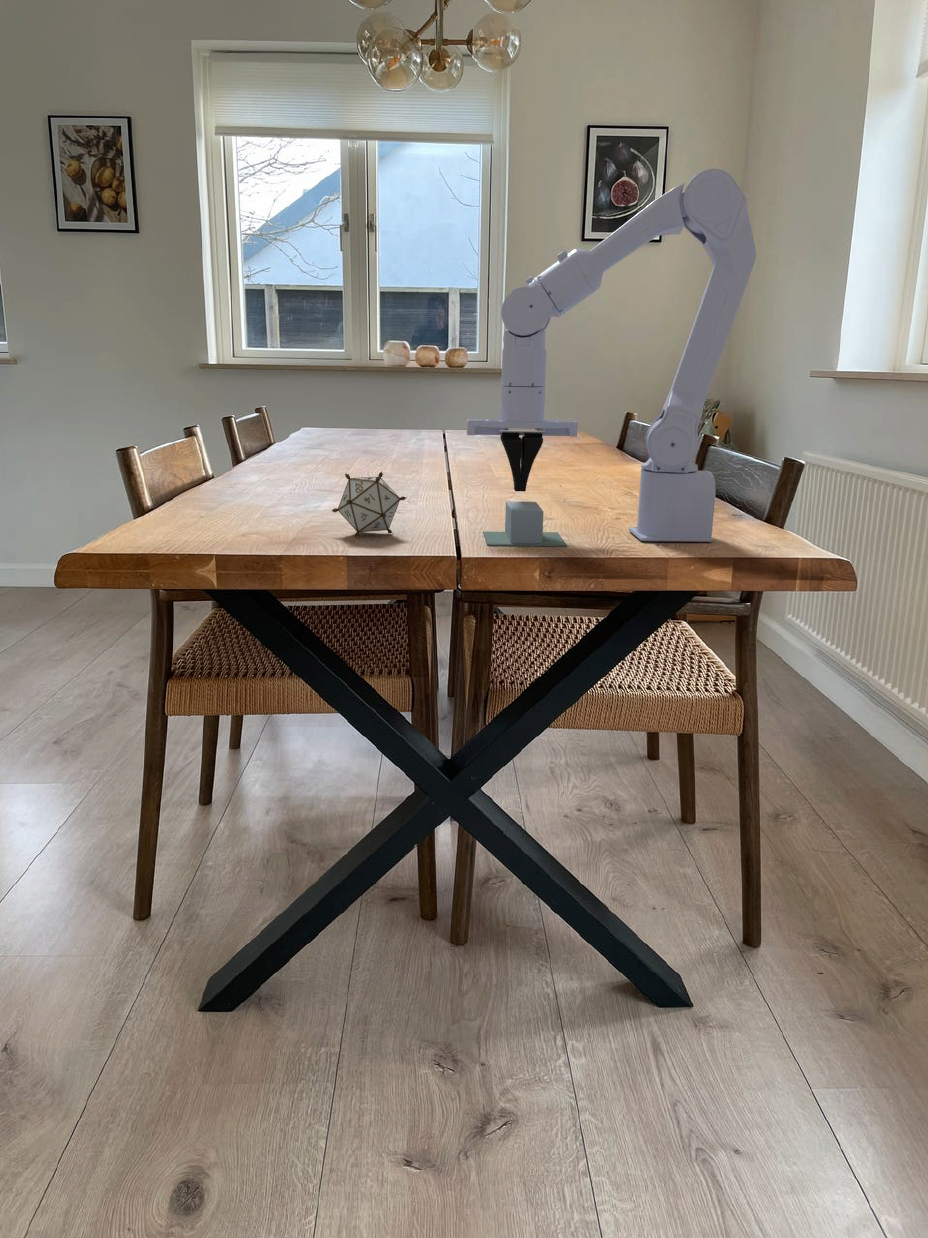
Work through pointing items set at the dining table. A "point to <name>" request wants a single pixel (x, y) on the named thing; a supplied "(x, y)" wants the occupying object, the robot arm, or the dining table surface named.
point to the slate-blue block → (524, 522)
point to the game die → (368, 504)
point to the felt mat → (503, 540)
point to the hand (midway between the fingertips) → (519, 490)
